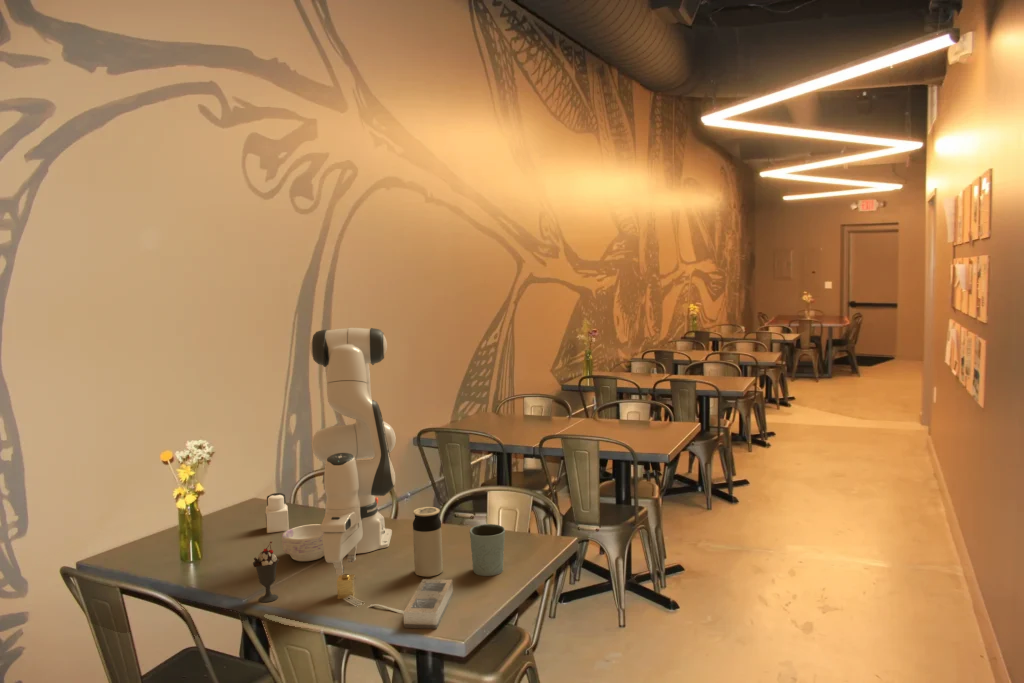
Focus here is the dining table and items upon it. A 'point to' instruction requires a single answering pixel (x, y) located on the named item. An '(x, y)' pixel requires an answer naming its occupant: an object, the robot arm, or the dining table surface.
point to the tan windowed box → (428, 604)
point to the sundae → (266, 572)
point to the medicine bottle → (276, 513)
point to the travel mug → (427, 542)
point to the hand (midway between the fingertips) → (346, 567)
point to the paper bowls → (304, 542)
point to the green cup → (487, 549)
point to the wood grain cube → (346, 586)
